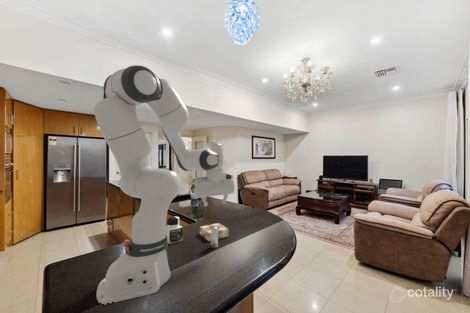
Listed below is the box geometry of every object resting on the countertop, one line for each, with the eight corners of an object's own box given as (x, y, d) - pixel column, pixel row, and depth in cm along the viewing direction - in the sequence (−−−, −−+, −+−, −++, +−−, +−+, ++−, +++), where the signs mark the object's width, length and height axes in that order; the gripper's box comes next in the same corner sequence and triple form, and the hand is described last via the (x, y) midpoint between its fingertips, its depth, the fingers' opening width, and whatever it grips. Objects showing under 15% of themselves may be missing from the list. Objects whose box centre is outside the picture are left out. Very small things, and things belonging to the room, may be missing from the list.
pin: (213, 248, 94) (213, 229, 94) (210, 245, 96) (210, 227, 96) (219, 246, 95) (219, 227, 95) (216, 244, 98) (216, 226, 98)
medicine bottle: (169, 244, 98) (169, 220, 98) (163, 240, 103) (163, 217, 104) (182, 240, 103) (182, 217, 103) (176, 236, 108) (176, 214, 108)
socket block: (208, 241, 102) (208, 233, 102) (199, 233, 112) (199, 226, 112) (228, 236, 108) (228, 228, 108) (218, 229, 118) (218, 222, 118)
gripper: (196, 178, 88) (197, 209, 88) (235, 175, 98) (236, 203, 98) (191, 177, 93) (192, 206, 93) (229, 174, 104) (230, 200, 104)
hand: (215, 204), depth 96 cm, fingers open, 8 cm apart
